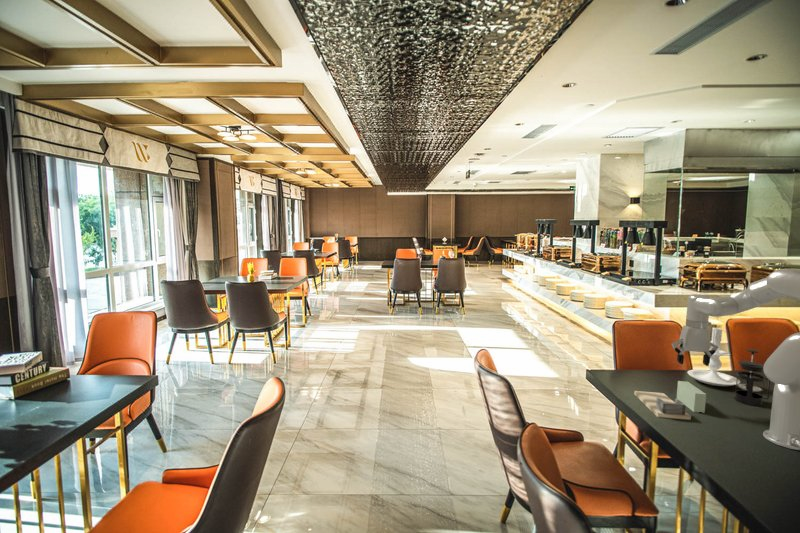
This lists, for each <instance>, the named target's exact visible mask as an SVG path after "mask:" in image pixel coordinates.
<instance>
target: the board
mask: <svg viewBox="0 0 800 533" xmlns="http://www.w3.org/2000/svg"><path fill="white" fill-rule="evenodd" d="M634 396H636V398H638V399H639V400H640V401H641V402H642V403H643V405H645V407H647V408H648V409H649V410H650V411H651V412H652V413H653V414H654V415H655V416H656V417H657V418H663V419H665V418H666V419H676V420H677V419H678V420H688V421H691V418H692V415H691V414H689V413H688V411H686V407H687V406H686V405H685V404H683V403H682V402H681V401H680V400H679V399H677V398H675V400H672V399H671V398H670V397H669V396H668V395H666V394H665V393H664V392H653V391H652V392H651V391H640V390H634Z"/></svg>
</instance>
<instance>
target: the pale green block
mask: <svg viewBox="0 0 800 533" xmlns="http://www.w3.org/2000/svg"><path fill="white" fill-rule="evenodd" d="M676 399H679V400H680V401H681V402H682V403H683V404H685V405H686V407H687V408H688V409H689V410H690V411H692V412H693V413H699V412H702V413H703V414H705V411H706V402H707V401H706V400H707V393H705V392H704V391H702V390H701V389H699V388H698V387H696V386H695V385H693V384H692V383H690V382H689V381H685V380H684V381H682V380H678V381H677V389H676ZM702 413H701V414H702Z"/></svg>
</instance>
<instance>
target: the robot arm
mask: <svg viewBox="0 0 800 533" xmlns="http://www.w3.org/2000/svg"><path fill="white" fill-rule="evenodd" d="M783 298H790V299H793V300H797V301H800V268H781V269H777V270H774V271H772V272H771V273H769V274H768V276H767V277H764V278H762V279H759V280H756V281H753V282H750V283H749V284H748V285H747V287H746V289H743V290H741V291H739V292H737V293H734V294H731V295H727V296H721V297H720V296H719V297H709V296H708V295H705V294H704V295H703V294H697V293H696V294H690V295H688V297H687V304H686V305H687V306H686V317H685V325H683V326H682V328H681V331H680V336H679V340H676V341H674V342H671V346H672V348H673V350H674V351H675V352H676V353H677V356H676V357H677V358H676V361H677V363H678V364H680V365H684V360H685V355H684V353H686V352H694V353H695V352H698V353H704V354H703V356H702V364H703V365H705V366H706V367H708V366H709V363H710V357H711V356H712V355H713V354H714V353H715V352H716V350H717V349H718V346H716V345H714V344H713V343H711V333H710V329H709V327H710V326H712V322H710V321H709V318H710V317H715V318H719V317H720V318H721V317H728V316H733V315H737V314H740V313H741V314H742V313H744V312H746V311H750V310H753V309H755V308H758V307H761V306H763V305H766V304H770V303H773V302H775V301H777V300H782V299H783ZM781 342H782V343H780V344H779V345H778V347H776V349H775V350H774V351H773V352H772V354H770V355H769V357H768V358H767V359H766V361H765V362H764V364H763V365H764V367H763V370H764V371H763V374H764V376H765V378H768V379H769V380H770V382H771V383H774V387H773V393H772V401H771V402H772V403H771V409H770V410H771V411H770V419H769V420H770V422H769V429H766V430H764V431H763V432H762V435H763V437H764V438H765V439H766V440H767V441H769V442H770V443H772V444H775V445H778V446H781V447H783V448H786V449H791V450H795V451H800V331H798V332H795V333H792V334H790V335H789V336H788V337H786V338H785V339H784V340H783V341H781ZM678 347H679V348H678ZM710 349H711V350H710ZM709 350H710V351H709ZM769 380H768V381H769Z"/></svg>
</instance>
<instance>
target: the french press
mask: <svg viewBox="0 0 800 533" xmlns="http://www.w3.org/2000/svg"><path fill="white" fill-rule="evenodd" d="M746 351H747V352H750V355H751V361H750V360H749V361H748V360H738V362H737V363H738V364H739V365H740V367H741V368H742V369H743V370H745V371H737V372H736V378H737V380H739V378H740V379H742V380H746V383H739V384H737V381H736V385H735V392H734V393H735V395H734V401H736V402H738V403H740V404H744V405H746V406H751V407H761V406H763V399H764V400H769V396H770V388H771V381H770V380H769V379H768V378H767V377H765V376H763V375H762V374H759V373H764V370H763V367H764V364H762V363H760V362H755V361H753V359H754V356H755V354H756V353H757V354H758V353H760V351H759V350H756V349H748V348H747V349H746ZM745 375H746V376H745ZM756 377H757V378H756ZM765 380H767V381H768V386H767V394H766V397H765V396H763V395H764V385H765ZM754 382H759V383H761V382H762V388H760V387H759V386H755V385H754ZM737 388H738V389H739V390H737ZM759 393H761V394H759Z"/></svg>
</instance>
